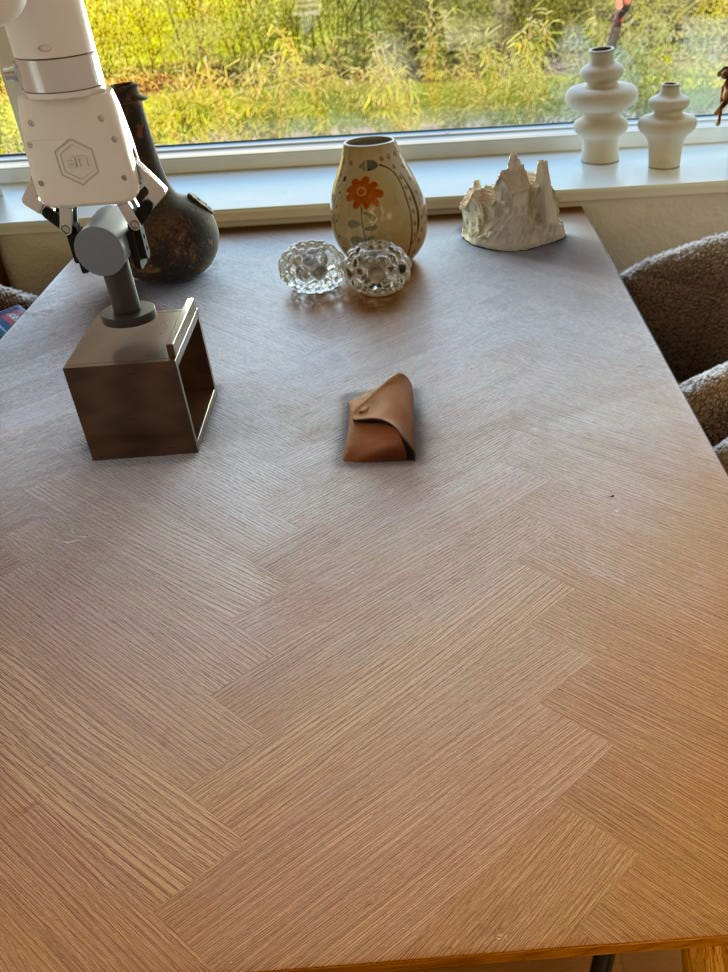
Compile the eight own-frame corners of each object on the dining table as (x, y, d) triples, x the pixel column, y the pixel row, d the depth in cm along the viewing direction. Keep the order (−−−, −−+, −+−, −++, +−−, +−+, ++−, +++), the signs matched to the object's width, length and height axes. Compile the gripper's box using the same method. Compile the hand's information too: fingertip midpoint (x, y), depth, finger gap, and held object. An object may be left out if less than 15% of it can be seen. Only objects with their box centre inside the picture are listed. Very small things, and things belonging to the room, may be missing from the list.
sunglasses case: (343, 400, 117) (365, 352, 114) (395, 423, 120) (418, 377, 116) (339, 471, 103) (364, 420, 100) (398, 496, 106) (425, 447, 103)
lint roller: (94, 334, 104) (62, 228, 97) (111, 307, 110) (81, 206, 103) (150, 329, 104) (121, 224, 97) (163, 303, 111) (137, 203, 104)
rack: (92, 460, 109) (57, 355, 101) (122, 399, 122) (93, 301, 114) (198, 452, 110) (171, 347, 102) (217, 393, 122) (194, 295, 114)
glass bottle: (229, 286, 154) (188, 87, 136) (115, 301, 150) (58, 100, 133) (223, 253, 167) (185, 69, 149) (117, 266, 164) (66, 79, 146)
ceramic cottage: (577, 236, 165) (573, 140, 156) (498, 259, 159) (489, 161, 150) (527, 222, 176) (520, 131, 167) (451, 243, 170) (440, 151, 161)
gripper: (-41, 88, 89) (26, 285, 101) (142, 76, 90) (188, 273, 101) (-15, 75, 95) (45, 262, 106) (157, 64, 95) (199, 251, 107)
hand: (115, 265), depth 104 cm, fingers closed on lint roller, 5 cm apart
